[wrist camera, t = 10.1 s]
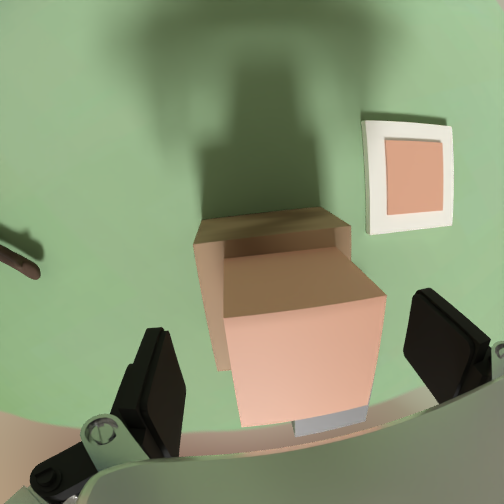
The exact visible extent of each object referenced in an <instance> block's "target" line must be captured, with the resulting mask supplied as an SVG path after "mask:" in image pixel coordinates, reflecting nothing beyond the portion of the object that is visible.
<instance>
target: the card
mask: <svg viewBox="0 0 504 504" xmlns="http://www.w3.org/2000/svg"><path fill="white" fill-rule="evenodd" d="M361 125H362V137H363V150H364V167H365V190H366V233H367V234H369V235H375V234H383V233H392V232H400V231H409V230H417V229H426V228H434V227H443V226H451V225H452V218H453V195H454V161H453V138H452V127H451V126H442V125H433V124H422V123H410V122H395V121H373V120H364V121H361Z"/></svg>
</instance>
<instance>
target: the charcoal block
mask: <svg viewBox="0 0 504 504" xmlns="http://www.w3.org/2000/svg"><path fill="white" fill-rule="evenodd" d="M374 375H375V374H374ZM373 380H374V379H373ZM372 386H373V384H372ZM371 391H372V388H371ZM370 396H371V393H370ZM369 401H370V397H369ZM368 406H369V402H368V405H365V406H361V407H357V408H353V409H349V410H345V411H341V412H336V413H332V414H327V415H322V416H317V417H312V418H306V419H301V420H295V421H291V422H292V426H293V430H294V434H295V437H299V436H304V435H309V434H314V433H319V432H323V431H328V430H332V429H337V428H340V427H344V426H349V425H352V424H356V423H360V422H363V421H365V420H366V415H367V411H368Z"/></svg>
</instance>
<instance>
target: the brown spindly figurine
mask: <svg viewBox="0 0 504 504" xmlns="http://www.w3.org/2000/svg"><path fill="white" fill-rule="evenodd" d="M0 261H1V262H3V263H5V264H7V265H9V266H11V267H13V268H14V269H16V270H18V271H20V272H21V273H23V274H24V275H26V276H27V277H29V278H31V279H34V280H37V279H39V278H40V275H41V273H40V269H39V267H38V266H37V265H36V264H35V263H34V262H32V261H30V260H28V259H27V258H25V257H23V256H21V255H19V254H17V253H15V252H13V251H11V250H9V249H8V248H6V247H4V246H2V245H0Z"/></svg>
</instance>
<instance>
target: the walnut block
mask: <svg viewBox="0 0 504 504" xmlns="http://www.w3.org/2000/svg"><path fill="white" fill-rule="evenodd" d="M327 247H337V248H338V249H339V250H340V251H341V252H342V253H343V254H344V255H345V256H346V257H347V258H348V259H349V260H351V226H350V225H349V224H347V223H346V222H344V221H343V220H341V219H339V218H338V217H336V216H335V215H333V214H332V213H330V212H328V211H327V210H325V209H323V208H322V207H311V208H301V209H291V210H282V211H273V212H264V213H255V214H246V215H238V216H230V217H222V218H214V219H206V220H202V221H201V224H200V226H199V229H198V232H197V235H196V237H195V240H194V243H193V248H194V254H195V260H196V265H197V271H198V277H199V282H200V288H201V293H202V298H203V303H204V309H205V314H206V319H207V324H208V329H209V333H210V338H211V343H212V348H213V352H214V357H215V362H216V366H217V370H218V371H226V370H231V364H230V358H229V352H228V345H227V339H226V333H225V326H224V320H223V290H224V259H226V258H235V257H244V256H254V255H263V254H272V253H281V252H291V251H300V250H309V249H318V248H327Z"/></svg>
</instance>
